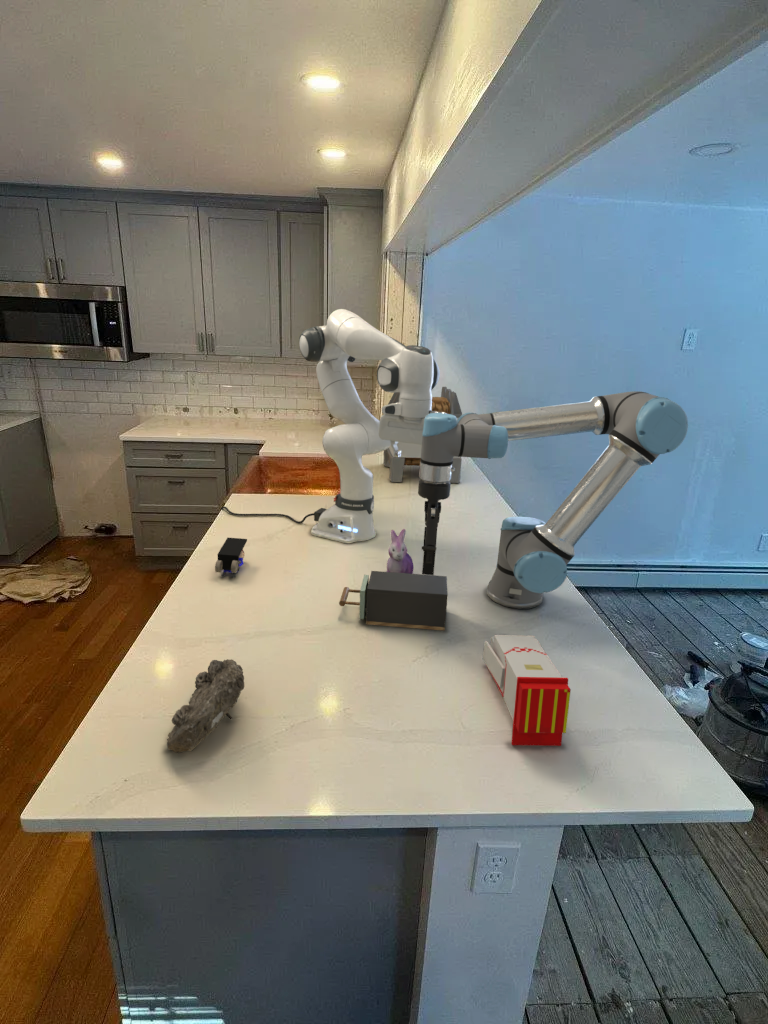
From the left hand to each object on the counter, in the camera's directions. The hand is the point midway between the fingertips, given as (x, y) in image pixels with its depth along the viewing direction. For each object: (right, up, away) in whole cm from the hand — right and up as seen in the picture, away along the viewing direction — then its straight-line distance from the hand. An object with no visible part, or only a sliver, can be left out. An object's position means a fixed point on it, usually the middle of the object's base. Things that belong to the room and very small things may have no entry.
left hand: (412, 459), depth 157 cm
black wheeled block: (-53, -32, +11) cm, 62 cm away
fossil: (-41, -54, -49) cm, 83 cm away
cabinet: (-2, -42, -10) cm, 43 cm away
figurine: (-3, -34, +10) cm, 36 cm away
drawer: (-7, -40, -10) cm, 42 cm away
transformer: (+9, +4, +118) cm, 119 cm away
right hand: (+3, -27, -16) cm, 32 cm away
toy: (+20, -53, -40) cm, 69 cm away
